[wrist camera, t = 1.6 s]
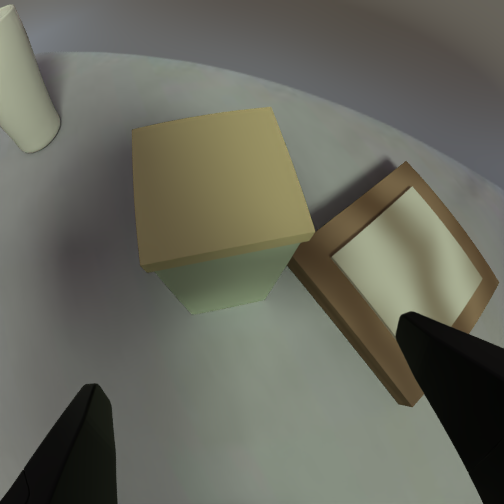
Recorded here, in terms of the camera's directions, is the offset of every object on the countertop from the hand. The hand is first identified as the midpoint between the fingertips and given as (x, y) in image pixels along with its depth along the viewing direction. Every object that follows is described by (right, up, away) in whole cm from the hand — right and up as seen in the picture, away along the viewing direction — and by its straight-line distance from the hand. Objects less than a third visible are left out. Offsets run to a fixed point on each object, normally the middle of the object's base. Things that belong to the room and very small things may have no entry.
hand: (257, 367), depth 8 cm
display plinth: (+12, +1, +14) cm, 19 cm away
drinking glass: (-22, +15, +17) cm, 31 cm away
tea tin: (-2, +2, +13) cm, 14 cm away
